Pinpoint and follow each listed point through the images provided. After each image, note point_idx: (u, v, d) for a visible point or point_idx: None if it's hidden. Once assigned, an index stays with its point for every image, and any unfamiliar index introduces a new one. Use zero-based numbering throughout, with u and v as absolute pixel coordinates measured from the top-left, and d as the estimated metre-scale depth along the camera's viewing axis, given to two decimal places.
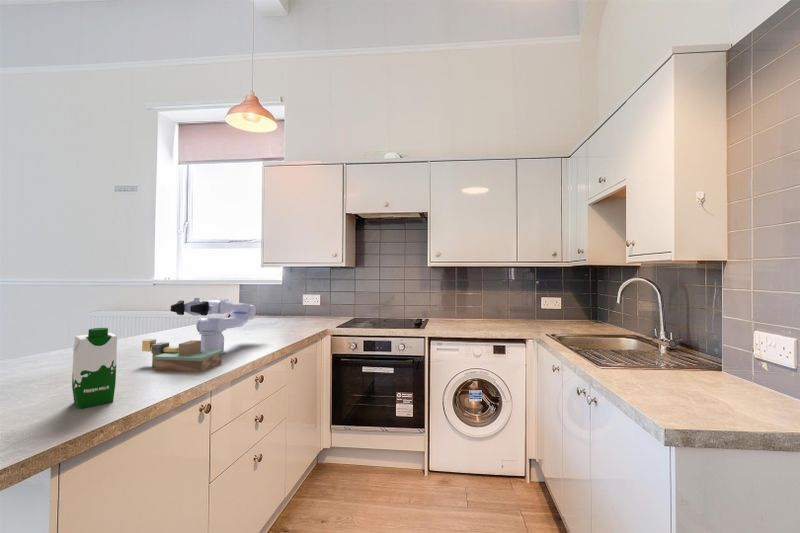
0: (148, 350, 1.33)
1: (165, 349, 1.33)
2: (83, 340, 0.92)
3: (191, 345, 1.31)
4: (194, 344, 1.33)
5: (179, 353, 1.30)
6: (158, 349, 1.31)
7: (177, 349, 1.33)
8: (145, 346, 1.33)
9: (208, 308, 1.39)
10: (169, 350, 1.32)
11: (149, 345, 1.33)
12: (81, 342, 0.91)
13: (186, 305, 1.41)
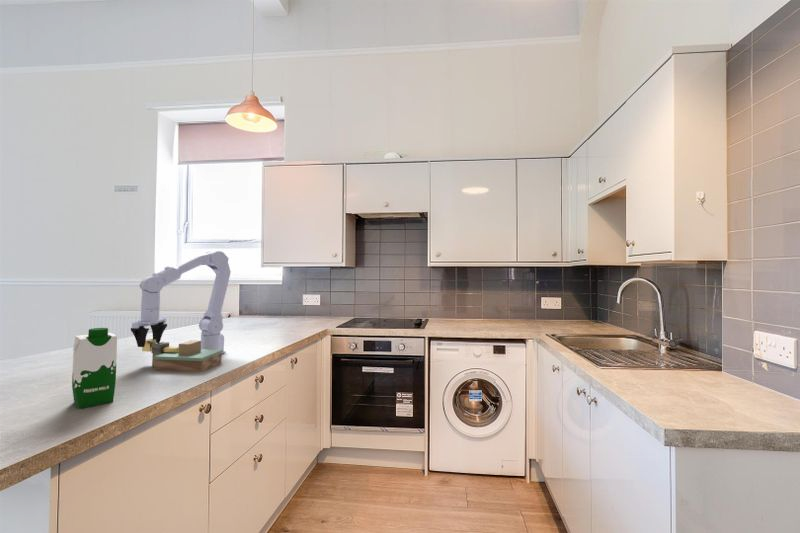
0: (148, 350, 1.33)
1: (165, 349, 1.33)
2: (83, 340, 0.92)
3: (191, 345, 1.31)
4: (194, 344, 1.33)
5: (179, 353, 1.30)
6: (158, 349, 1.31)
7: (177, 349, 1.33)
8: (145, 346, 1.33)
9: (136, 328, 1.28)
10: (169, 350, 1.32)
11: (149, 345, 1.33)
12: (81, 342, 0.91)
13: None
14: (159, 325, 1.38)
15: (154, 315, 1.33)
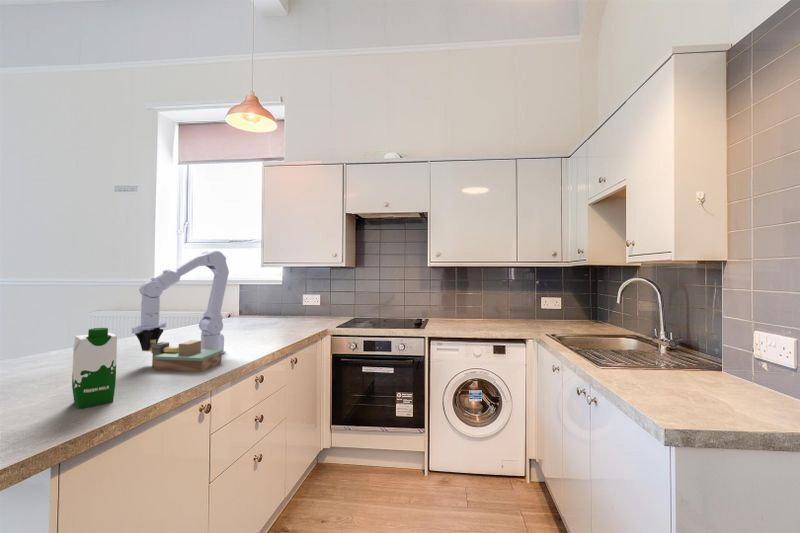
0: (148, 350, 1.33)
1: (165, 349, 1.33)
2: (83, 340, 0.92)
3: (191, 345, 1.31)
4: (194, 344, 1.33)
5: (179, 353, 1.30)
6: (158, 349, 1.31)
7: (177, 349, 1.33)
8: None
9: (141, 332, 1.30)
10: (169, 350, 1.32)
11: None
12: (81, 342, 0.91)
13: None
14: (155, 330, 1.36)
15: (154, 320, 1.33)
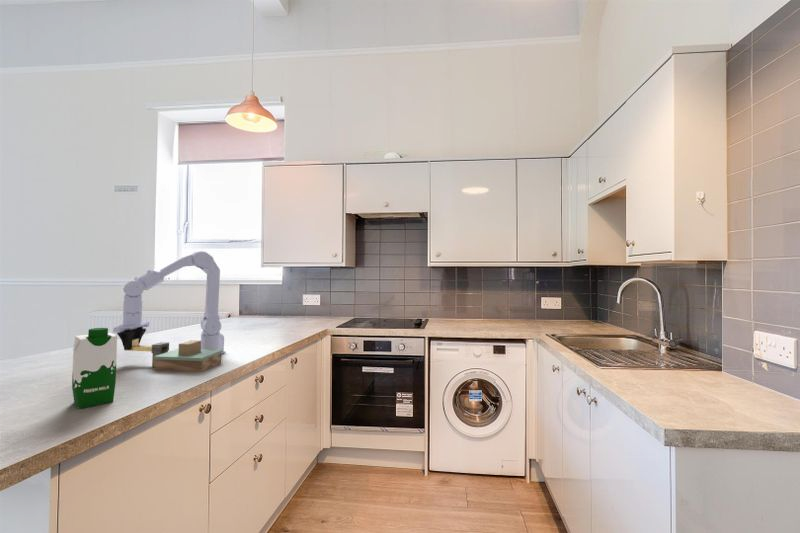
0: None
1: (147, 348, 1.33)
2: (83, 340, 0.92)
3: (191, 345, 1.31)
4: (194, 344, 1.33)
5: (179, 353, 1.30)
6: (158, 349, 1.31)
7: None
8: None
9: (123, 332, 1.31)
10: (151, 349, 1.33)
11: None
12: (81, 342, 0.91)
13: None
14: (137, 330, 1.36)
15: (136, 319, 1.33)
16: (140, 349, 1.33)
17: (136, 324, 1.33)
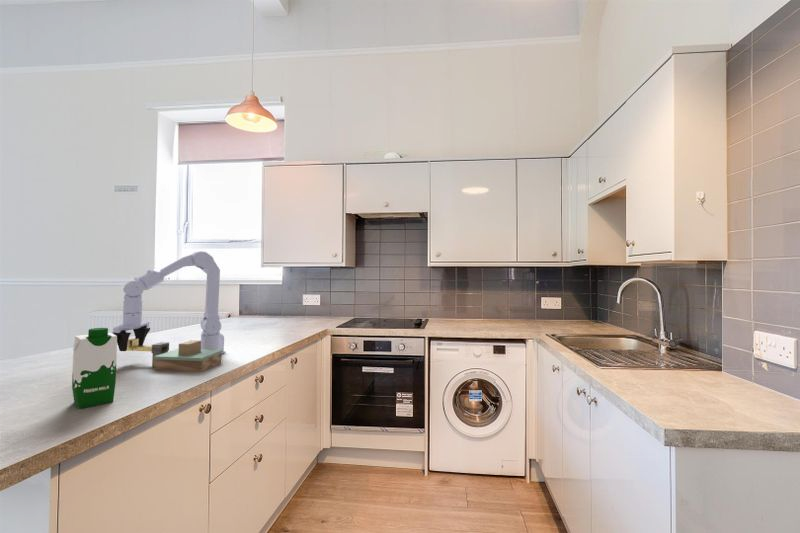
0: (130, 349, 1.33)
1: (147, 348, 1.33)
2: (83, 340, 0.92)
3: (191, 345, 1.31)
4: (194, 344, 1.33)
5: (179, 353, 1.30)
6: (158, 349, 1.31)
7: None
8: (127, 345, 1.33)
9: (118, 333, 1.29)
10: (151, 349, 1.33)
11: (131, 344, 1.33)
12: (81, 342, 0.91)
13: None
14: (142, 329, 1.38)
15: (136, 319, 1.33)
16: (139, 349, 1.33)
17: (136, 324, 1.33)
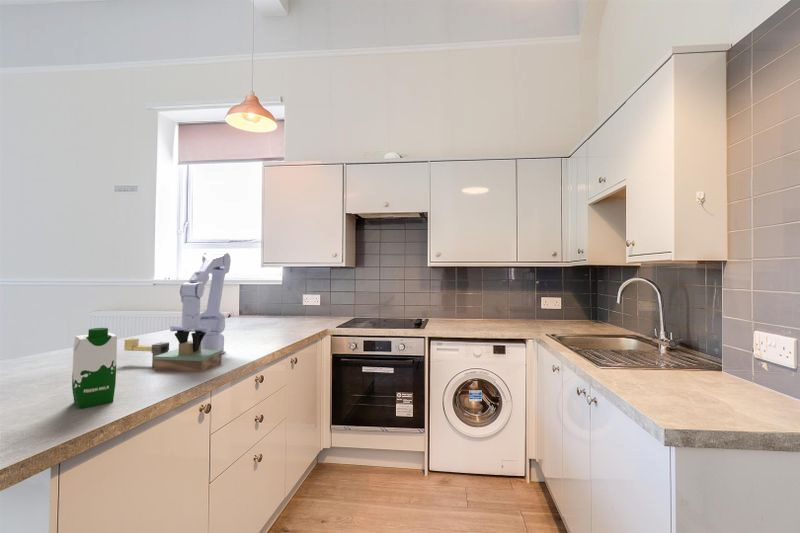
0: (130, 349, 1.33)
1: (147, 348, 1.33)
2: (83, 340, 0.92)
3: (191, 345, 1.31)
4: None
5: (179, 353, 1.30)
6: (158, 349, 1.31)
7: None
8: (127, 345, 1.33)
9: (202, 332, 1.33)
10: (151, 349, 1.33)
11: (131, 344, 1.33)
12: (81, 342, 0.91)
13: (179, 328, 1.33)
14: (186, 332, 1.34)
15: None
16: (139, 349, 1.33)
17: None
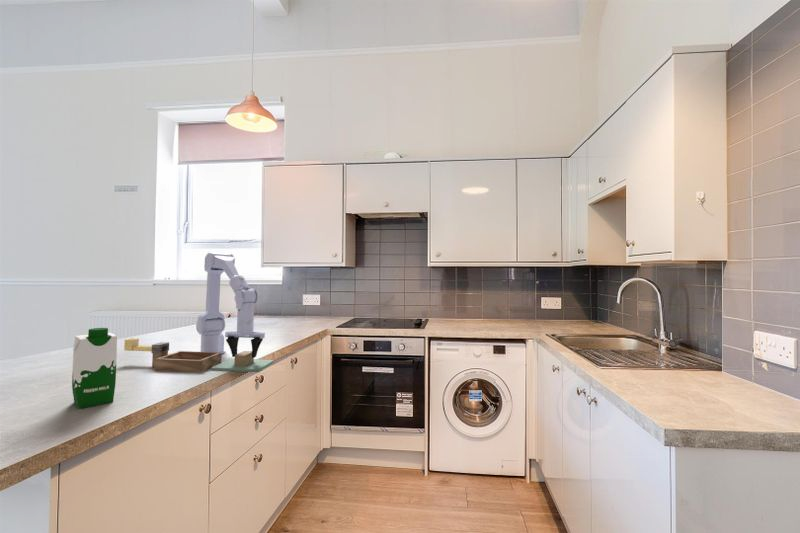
0: (130, 349, 1.33)
1: (147, 348, 1.33)
2: (83, 340, 0.92)
3: (246, 356, 1.33)
4: (249, 355, 1.35)
5: (235, 364, 1.32)
6: (158, 349, 1.31)
7: None
8: (127, 345, 1.33)
9: (260, 338, 1.35)
10: (151, 349, 1.33)
11: (131, 344, 1.33)
12: (81, 342, 0.91)
13: None
14: (236, 338, 1.36)
15: None
16: (139, 349, 1.33)
17: None
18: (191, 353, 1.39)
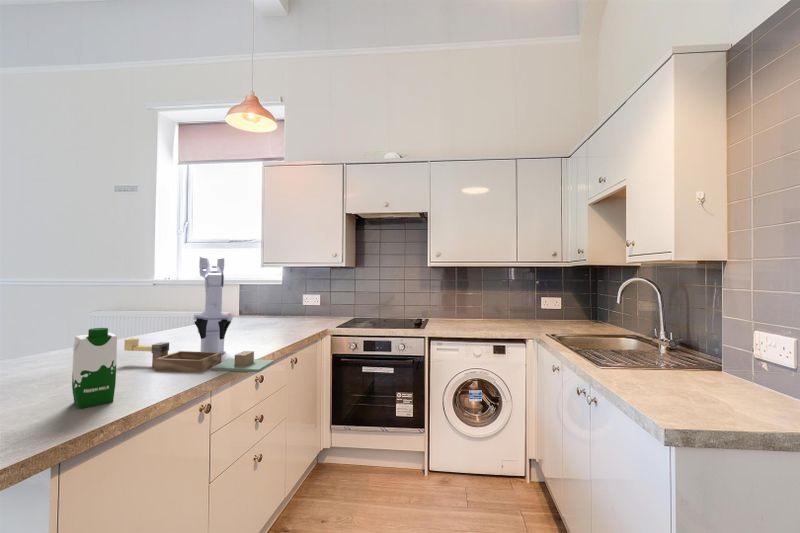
0: (130, 349, 1.33)
1: (147, 348, 1.33)
2: (83, 340, 0.92)
3: (246, 356, 1.33)
4: (249, 355, 1.35)
5: (235, 364, 1.32)
6: (158, 349, 1.31)
7: None
8: (127, 345, 1.33)
9: (228, 321, 1.39)
10: (151, 349, 1.33)
11: (131, 344, 1.33)
12: (81, 342, 0.91)
13: None
14: (205, 320, 1.40)
15: None
16: (139, 349, 1.33)
17: None
18: (191, 353, 1.39)
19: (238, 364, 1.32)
